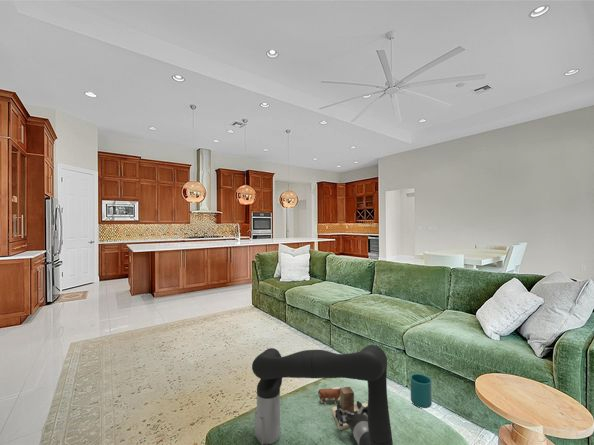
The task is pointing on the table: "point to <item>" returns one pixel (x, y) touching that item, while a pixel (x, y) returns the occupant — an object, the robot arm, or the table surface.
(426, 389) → the cup
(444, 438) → the table surface
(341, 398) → the walnut block
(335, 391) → the bull figurine
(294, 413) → the table surface
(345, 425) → the puzzle board
